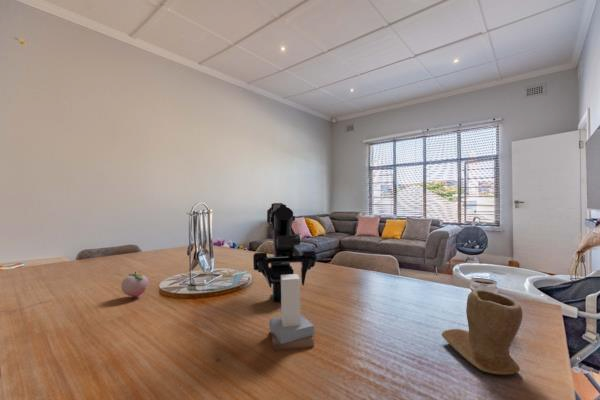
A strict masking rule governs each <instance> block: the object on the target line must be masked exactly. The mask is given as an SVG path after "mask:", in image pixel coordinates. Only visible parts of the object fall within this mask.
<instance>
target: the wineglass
mask: <svg viewBox="0 0 600 400" xmlns="http://www.w3.org/2000/svg"><path fill="white" fill-rule="evenodd" d="M497 284H498V282H497V281H496V280H494V279H490V278H483V277H472V278H470V286H469V289H470V292H472V291H473V290H485V291H489V292H493V293H495V294H498V291H499V289H498V287H497Z"/></svg>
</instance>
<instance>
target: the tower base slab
mask: <svg viewBox="0 0 600 400" xmlns="http://www.w3.org/2000/svg"><path fill="white" fill-rule="evenodd" d="M270 333H271V335H270V336H271V339H272V341H271V342H272V347H273V351H280V350H291V349H300V348H308V347H309V348H310V347H315V337H314V336H310V337H306V338H302V339H298V340H294V341H290V342H286V343H282V344H281V343H280V341H279V340H278V339H277V338H276V336H275V335H274V334H273V332H272V331H271V330H270Z"/></svg>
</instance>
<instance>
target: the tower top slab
mask: <svg viewBox="0 0 600 400" xmlns="http://www.w3.org/2000/svg"><path fill="white" fill-rule="evenodd" d="M300 315H301V325H299V326H287V327H283V325H282V316H279V317H274V318H270V319H269V321H268V322H269V323H268V324H269V330H270V332H271V331H272V332H273V334H274V335H275V336H276V338H277V339H278V340H279V341H280V343H281V344H282V343H286V342H290V341H294V340H298V339H302V338H306V337H310V336H313V337H314V336H315V325H314V324H313V323H311V322H310V320H309V319H307V318H306V317H305V316H303V314H301V313H300Z"/></svg>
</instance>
